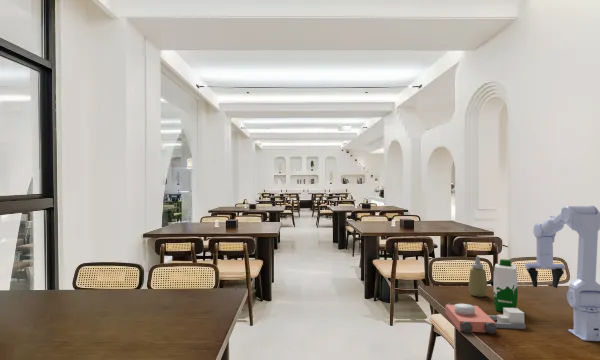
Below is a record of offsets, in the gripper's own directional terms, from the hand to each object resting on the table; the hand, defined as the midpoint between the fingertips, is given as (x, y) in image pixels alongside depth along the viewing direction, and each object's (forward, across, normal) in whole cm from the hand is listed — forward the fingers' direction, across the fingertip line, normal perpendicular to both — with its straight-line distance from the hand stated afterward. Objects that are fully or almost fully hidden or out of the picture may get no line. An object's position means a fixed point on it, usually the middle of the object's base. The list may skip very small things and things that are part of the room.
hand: (545, 286), depth 163 cm
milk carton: (+10, +15, 0) cm, 18 cm away
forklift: (+10, +29, +18) cm, 35 cm away
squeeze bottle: (+10, +19, -22) cm, 31 cm away
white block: (+10, +20, +18) cm, 29 cm away
